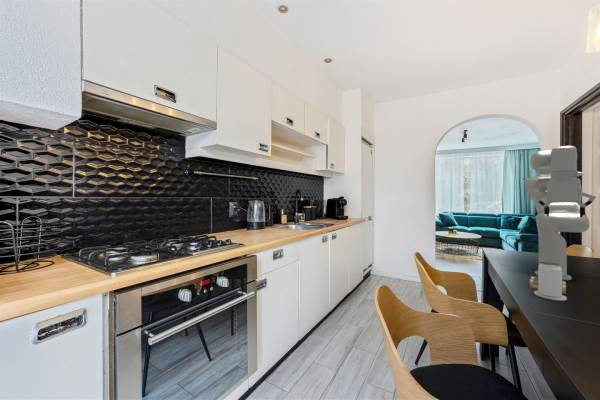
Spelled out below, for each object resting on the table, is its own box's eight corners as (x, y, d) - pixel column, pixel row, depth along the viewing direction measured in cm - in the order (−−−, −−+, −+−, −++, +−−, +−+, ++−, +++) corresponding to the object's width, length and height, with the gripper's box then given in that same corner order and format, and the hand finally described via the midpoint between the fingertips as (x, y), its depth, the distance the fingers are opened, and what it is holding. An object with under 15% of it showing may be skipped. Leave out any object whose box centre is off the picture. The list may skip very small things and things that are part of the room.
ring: (531, 281, 113) (531, 276, 113) (565, 287, 106) (565, 281, 106) (529, 287, 106) (529, 281, 106) (565, 293, 98) (565, 287, 98)
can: (566, 298, 92) (566, 266, 92) (545, 296, 94) (545, 265, 94) (553, 292, 99) (553, 262, 99) (534, 290, 100) (534, 261, 100)
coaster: (534, 290, 103) (534, 288, 103) (566, 296, 96) (566, 294, 96) (533, 296, 96) (533, 294, 96) (567, 302, 90) (567, 301, 90)
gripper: (594, 175, 101) (595, 217, 101) (535, 178, 114) (536, 215, 113) (596, 173, 96) (596, 218, 96) (534, 177, 108) (535, 216, 108)
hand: (563, 216), depth 105 cm, fingers open, 9 cm apart
